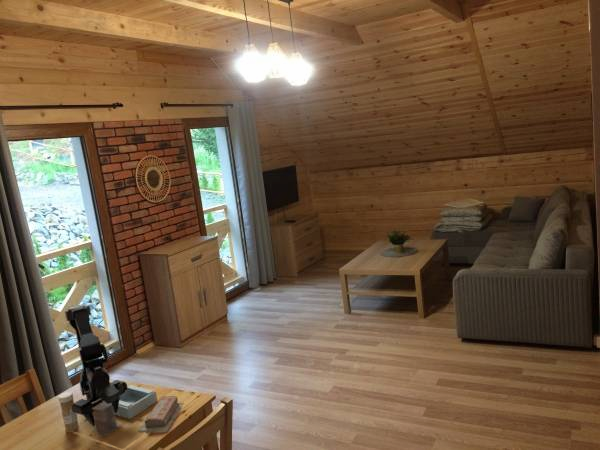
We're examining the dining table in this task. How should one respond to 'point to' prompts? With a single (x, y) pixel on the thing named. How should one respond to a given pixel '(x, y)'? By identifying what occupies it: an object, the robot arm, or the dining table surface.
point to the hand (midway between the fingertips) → (104, 419)
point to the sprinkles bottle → (68, 412)
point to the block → (104, 417)
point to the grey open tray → (135, 401)
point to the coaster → (104, 432)
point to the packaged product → (161, 415)
